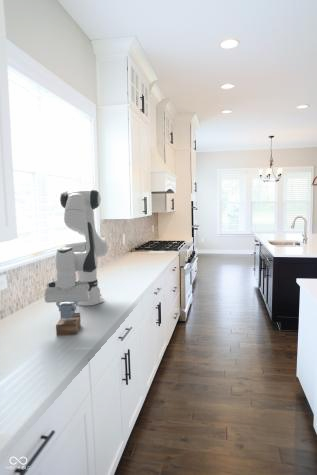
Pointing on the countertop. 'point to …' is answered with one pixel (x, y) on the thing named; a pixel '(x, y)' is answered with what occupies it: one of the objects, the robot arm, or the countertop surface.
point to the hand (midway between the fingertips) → (67, 310)
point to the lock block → (67, 310)
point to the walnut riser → (69, 325)
